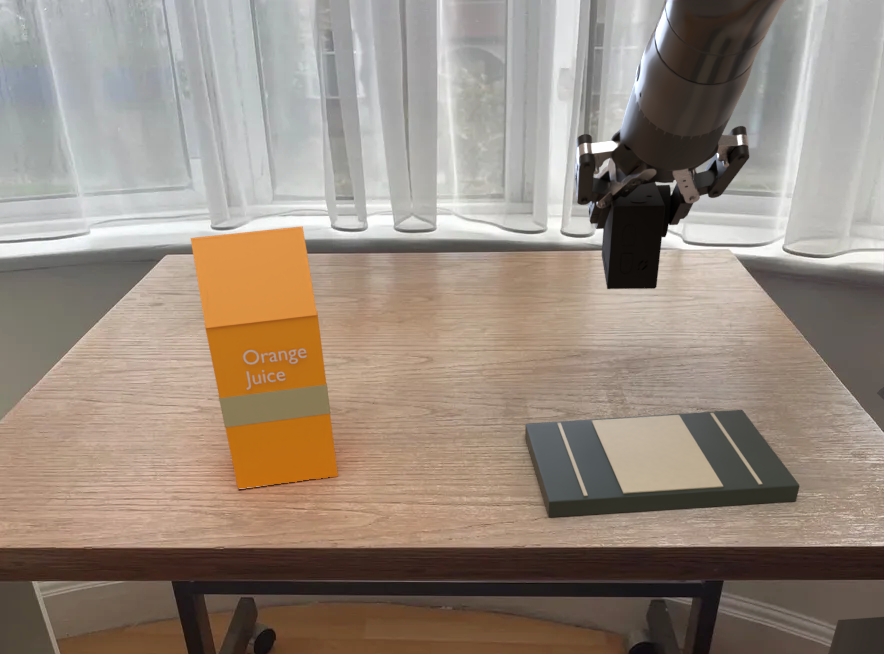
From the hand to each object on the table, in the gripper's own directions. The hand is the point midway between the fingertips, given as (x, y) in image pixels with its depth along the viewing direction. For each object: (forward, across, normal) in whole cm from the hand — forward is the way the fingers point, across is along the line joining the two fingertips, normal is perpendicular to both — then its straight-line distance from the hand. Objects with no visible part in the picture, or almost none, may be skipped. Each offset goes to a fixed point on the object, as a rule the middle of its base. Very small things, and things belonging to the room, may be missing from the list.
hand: (635, 217), depth 81 cm
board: (0, -1, -24) cm, 24 cm away
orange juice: (+3, -33, -20) cm, 39 cm away
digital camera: (+2, 0, -4) cm, 5 cm away
